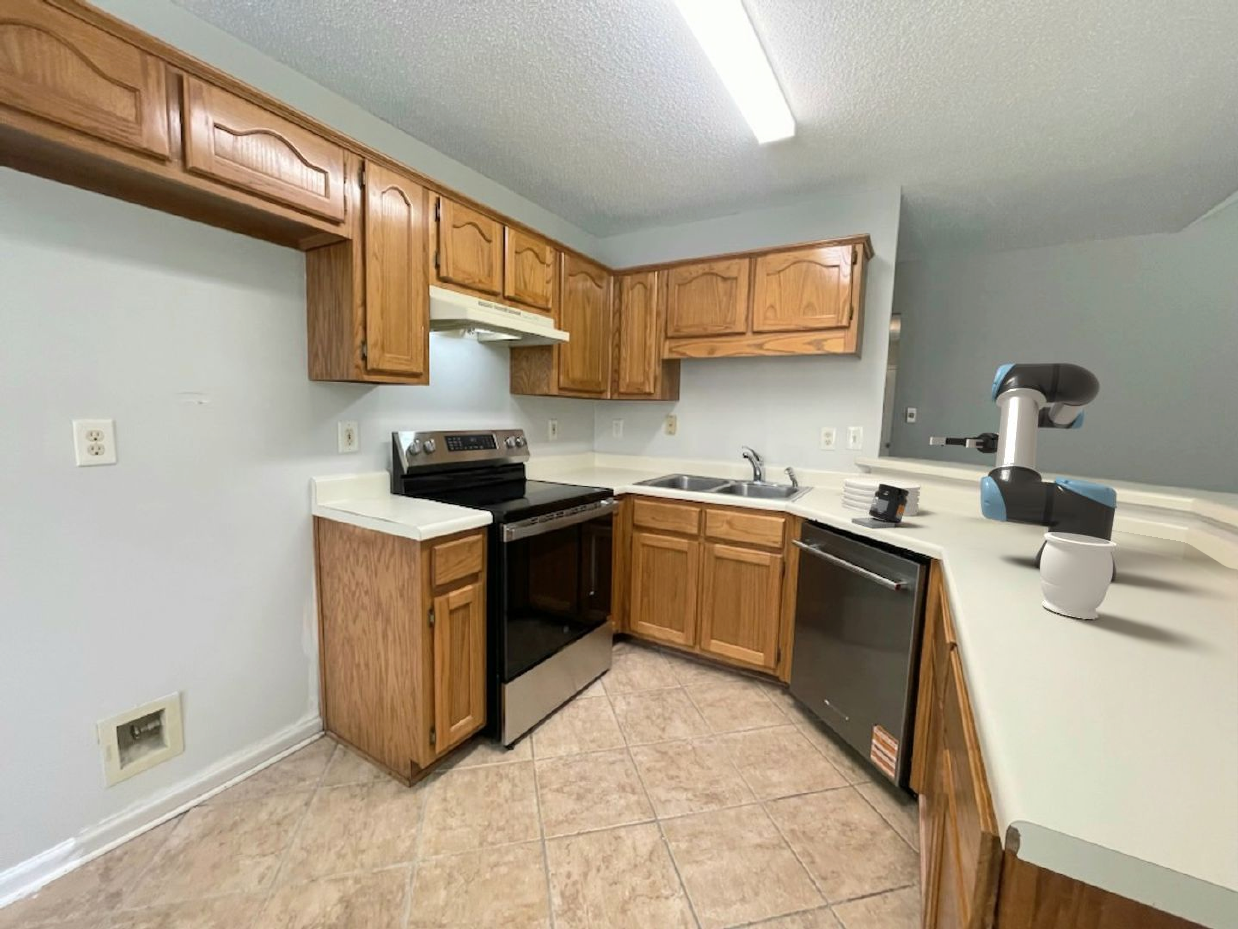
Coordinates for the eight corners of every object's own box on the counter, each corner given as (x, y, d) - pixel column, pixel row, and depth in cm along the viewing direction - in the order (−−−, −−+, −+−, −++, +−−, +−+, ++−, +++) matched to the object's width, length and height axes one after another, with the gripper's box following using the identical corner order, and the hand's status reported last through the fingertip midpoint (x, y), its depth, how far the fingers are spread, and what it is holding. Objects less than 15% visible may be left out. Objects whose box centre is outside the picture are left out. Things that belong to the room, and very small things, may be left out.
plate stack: (932, 518, 189) (935, 489, 188) (859, 515, 190) (862, 486, 188) (894, 504, 217) (897, 479, 215) (830, 502, 217) (833, 476, 216)
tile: (873, 517, 177) (851, 518, 174) (894, 523, 169) (872, 524, 166) (873, 522, 178) (851, 523, 174) (894, 528, 169) (871, 529, 166)
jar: (1113, 628, 90) (1125, 548, 88) (1040, 614, 95) (1050, 539, 94) (1096, 609, 99) (1106, 537, 97) (1030, 597, 104) (1039, 529, 103)
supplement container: (905, 526, 172) (916, 493, 172) (891, 521, 166) (902, 488, 166) (876, 517, 181) (886, 486, 180) (862, 513, 175) (872, 481, 174)
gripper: (1028, 456, 167) (982, 456, 160) (958, 450, 190) (916, 449, 184) (1031, 434, 166) (985, 433, 159) (960, 431, 189) (918, 429, 183)
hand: (948, 442), depth 172 cm, fingers open, 13 cm apart
